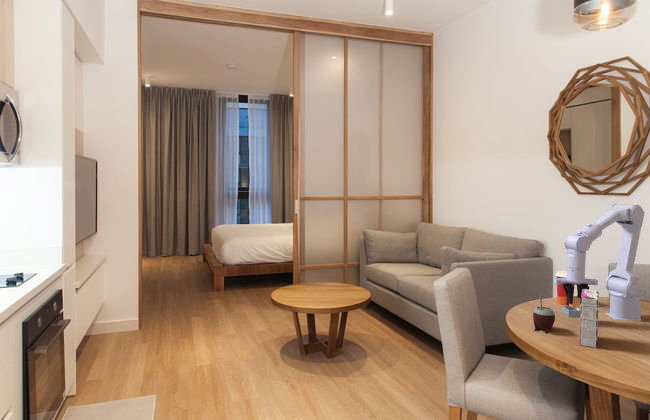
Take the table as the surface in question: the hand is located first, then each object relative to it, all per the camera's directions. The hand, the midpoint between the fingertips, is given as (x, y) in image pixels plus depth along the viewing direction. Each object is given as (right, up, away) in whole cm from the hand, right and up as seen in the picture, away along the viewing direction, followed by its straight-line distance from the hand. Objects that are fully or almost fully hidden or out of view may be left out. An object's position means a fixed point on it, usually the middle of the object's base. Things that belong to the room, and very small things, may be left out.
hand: (574, 303), depth 163 cm
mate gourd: (-15, -9, -7) cm, 19 cm away
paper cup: (+10, -6, +25) cm, 27 cm away
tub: (+6, -7, +10) cm, 13 cm away
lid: (+4, -2, 0) cm, 5 cm away
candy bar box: (-5, -9, -17) cm, 20 cm away
